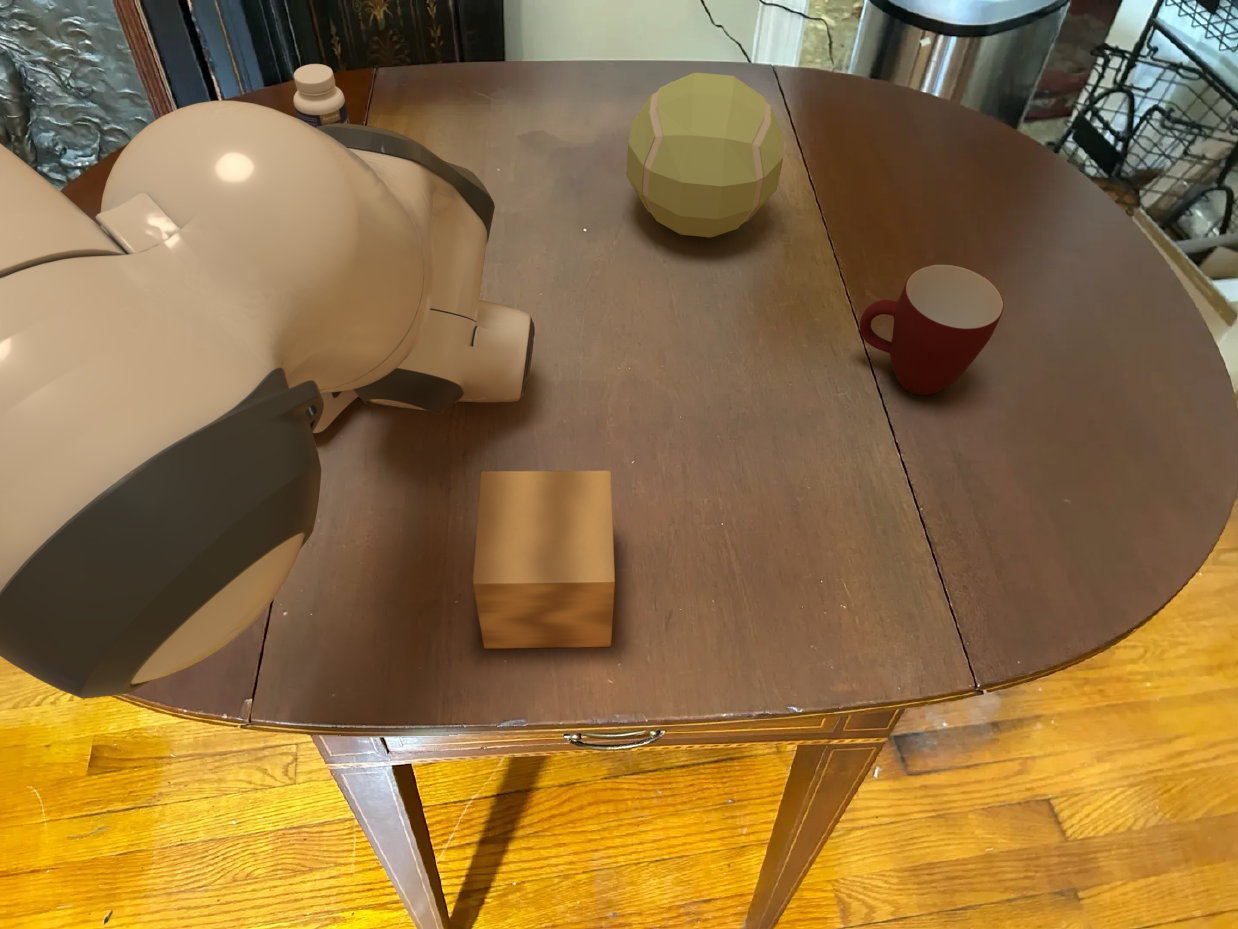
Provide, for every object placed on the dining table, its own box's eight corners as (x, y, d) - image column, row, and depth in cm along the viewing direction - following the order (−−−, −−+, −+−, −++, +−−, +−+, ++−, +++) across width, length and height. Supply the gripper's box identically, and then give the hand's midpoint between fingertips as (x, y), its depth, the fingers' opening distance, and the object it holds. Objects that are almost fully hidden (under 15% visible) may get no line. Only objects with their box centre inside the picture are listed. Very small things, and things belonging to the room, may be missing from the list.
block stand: (484, 649, 64) (472, 583, 57) (490, 542, 70) (480, 471, 63) (611, 647, 65) (614, 582, 58) (607, 541, 70) (610, 470, 63)
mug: (842, 396, 81) (870, 312, 73) (850, 335, 86) (878, 250, 78) (962, 421, 79) (1004, 338, 72) (964, 358, 84) (1004, 273, 76)
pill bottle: (335, 168, 99) (317, 91, 92) (296, 154, 100) (275, 78, 93) (364, 143, 102) (349, 68, 95) (326, 131, 103) (308, 55, 96)
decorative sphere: (618, 257, 92) (624, 120, 80) (633, 171, 101) (640, 37, 89) (767, 271, 91) (795, 136, 79) (768, 183, 100) (793, 51, 88)
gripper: (376, 227, 80) (225, 209, 81) (292, 396, 68) (115, 372, 69) (387, 283, 85) (245, 265, 86) (312, 449, 73) (146, 427, 73)
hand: (187, 314), depth 77 cm, fingers open, 6 cm apart
